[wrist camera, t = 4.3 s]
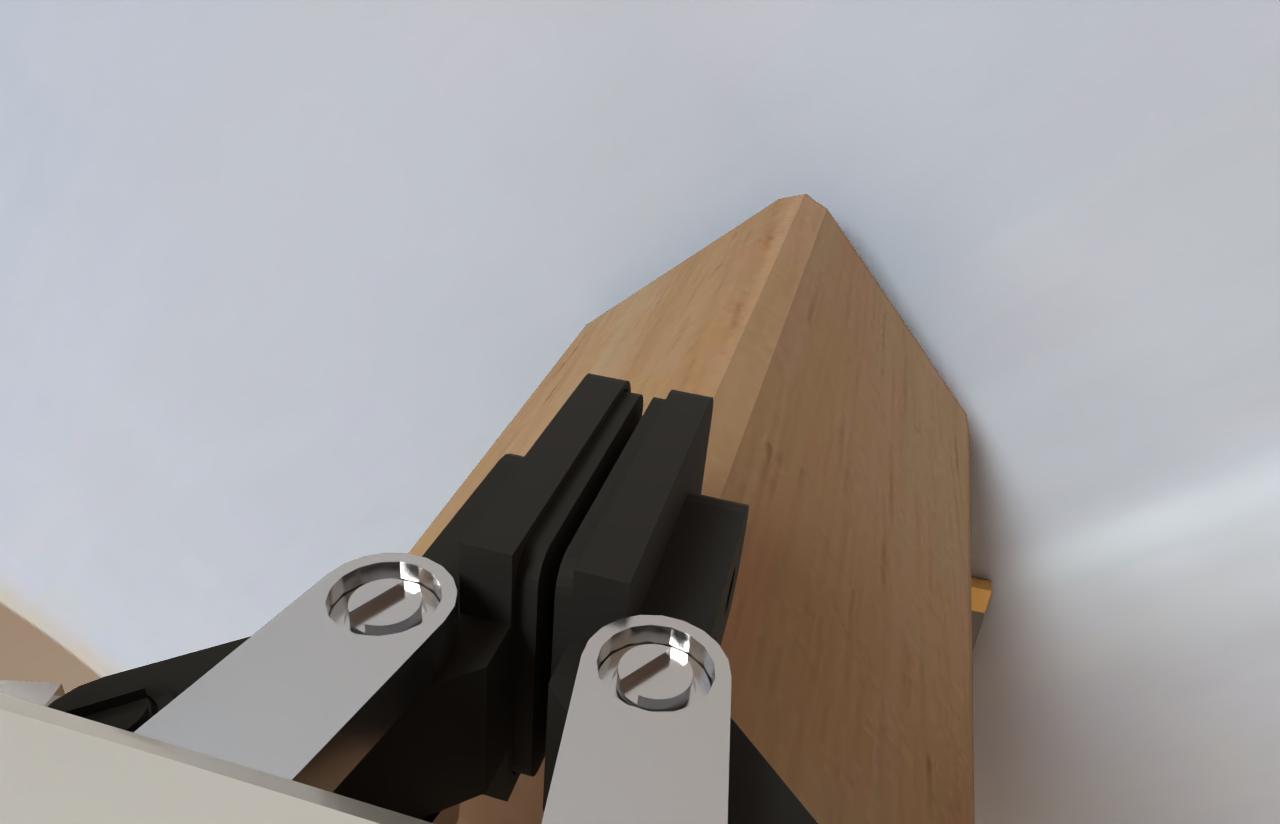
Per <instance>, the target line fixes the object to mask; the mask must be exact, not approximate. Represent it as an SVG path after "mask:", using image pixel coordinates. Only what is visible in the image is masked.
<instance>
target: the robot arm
mask: <svg viewBox="0 0 1280 824" xmlns="http://www.w3.org/2000/svg"><path fill="white" fill-rule="evenodd" d="M712 412H713V397H708V396H703V395H698V394H692V393H687V392H682V391H677V390H671V391H670V392H669V394H668V396H667V398H666V399H662V398H657V397H653V399H652V400H651V402H650V404H649V405H648V407H647V409H646V411H645V412H644V414H643V395H641V394H636V393H631V385H630V382H629V381H626V380H621V379H615V378H610V377H605V376H600V375H595V374H590V373H588V374H587V375H586V376H585V377H584V378H583V380H582V381H581V382H580V384H579V385H578V386H577V388H576V389H575V390H574V392H573V393H572V394H571V395H570V397H569V398H568V399H567V401H566V402H565V403H564V405H563V406H562V407H561V409H560V410H559V411H558V413H557V414H556V415H555V417H554V418H553V419H552V421H551V422H550V423H549V425H548V426H547V427H546V429H545V430H544V431H543V432H542V434H541V435H540V436H539V438H538V439H537V440H536V442H535V443H534V444H533V446H532V447H531V448H530V450H529V451H528V452H527V454H526V455H525V456H520V455H515V454H505V455H504V456H503V457H502V458H501V459H500V460H499V461H498V462H497V463H496V465H495V466H494V467H493V468H492V470H491V471H490V472H489V473H488V475H487V476H486V477H485V478H484V480H483V481H482V482H481V483H480V485H479V486H478V487H477V488H476V490H475V491H474V492H473V493H472V495H471V496H470V497H469V498H468V500H467V501H466V502H465V503H464V505H463V506H462V507H461V508H460V510H459V511H458V512H457V513H456V514H455V516H454V517H453V518H452V519H451V521H450V522H449V523H448V524H447V526H446V527H445V528H444V529H443V531H442V532H441V533H440V534H439V536H438V537H437V538H436V539H435V541H434V542H433V543H432V544H431V546H430V547H429V548H428V549H427V551H426V552H425V553H424V554H423V556H422V557H421V556H417V555H412V554H408V553H382V554H376V555H370V556H364V557H361V558H359V559H356V560H353V561H350V562H347V563H345V564H343V565H341V566H340V567H338V568H337V569H335V570H333V571H332V572H330V573H329V574H327V575H326V576H325V577H323V578H322V579H321V580H320V581H319V582H317V583H316V584H315V585H314V586H312V587H311V588H310V589H309V590H307V591H306V592H305V593H304V594H303V595H301V596H300V597H299V598H298V599H296V600H295V601H294V602H293V603H292V604H290V605H289V606H288V607H287V608H285V609H284V610H283V611H282V612H281V613H279V614H278V615H277V616H276V617H274V618H273V619H272V620H271V621H269V622H268V623H267V624H266V625H265V626H263V627H262V628H261V629H260V630H258V631H257V632H256V633H255V634H254V635H252V636H251V637H247V638H244V639H240V640H236V641H233V642H229V643H225V644H222V645H218V646H215V647H211V648H207V649H204V650H200V651H196V652H193V653H189V654H186V655H182V656H178V657H175V658H171V659H168V660H164V661H160V662H157V663H153V664H149V665H146V666H142V667H139V668H135V669H131V670H128V671H124V672H120V673H117V674H113V675H110V676H106V677H103V678H100V679H98V680H95V681H92V682H90V683H87V684H84V685H81V686H79V687H77V688H75V689H73V690H72V691H70V692H68V693H67V694H65V693H64V690H63V687H62V684H56V683H42V682H28V681H14V680H1V679H0V824H456V823H457V821H458V819H459V813H460V805H461V803H462V802H464V801H467V800H469V799H472V798H474V797H477V796H479V795H482V794H483V795H486V796H489V797H493V798H496V799H500V800H503V801H506V802H508V799H509V797H510V795H511V793H512V791H513V789H514V787H515V785H516V782H517V780H518V778H519V776H520V774H525V775H528V776H532V777H533V776H535V775H536V774H537V772H538V770H539V768H540V766H541V764H542V762H543V760H544V757H545V769H544V790H543V811H544V815H543V819H542V824H818V823H817V822H816V820H815V819H814V818H813V817H812V816H811V814H810V813H809V812H808V811H807V810H806V808H805V807H804V806H803V805H802V803H801V802H800V801H799V800H798V799H797V797H796V796H795V795H794V794H793V792H792V791H791V790H790V789H789V788H788V786H787V785H786V784H785V783H784V781H783V780H782V779H781V778H780V777H779V775H778V774H777V773H776V772H775V770H774V769H773V768H772V767H771V766H770V764H769V763H768V762H767V761H766V759H765V758H764V757H763V756H762V755H761V753H760V752H759V751H758V750H757V748H756V747H755V746H754V745H753V744H752V742H751V741H750V740H749V739H748V738H747V736H746V735H745V734H744V733H743V731H742V730H741V729H740V728H739V727H738V725H737V724H736V723H735V722H734V720H733V719H732V718H731V717H730V714H731V671H730V666H729V660H728V658H727V657H726V655H725V653H724V652H723V650H722V649H721V643H722V639H723V635H724V632H725V628H726V624H727V620H728V616H729V612H730V608H731V604H732V599H733V595H734V590H735V586H736V581H737V576H738V571H739V566H740V560H741V555H742V549H743V543H744V538H745V532H746V526H747V520H748V512H749V505H747V504H742V503H737V502H733V501H728V500H724V499H719V498H714V497H710V496H705V495H701V491H702V484H703V477H704V470H705V463H706V456H707V448H708V441H709V434H710V427H711V420H712ZM642 414H643V416H642Z"/></svg>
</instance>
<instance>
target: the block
mask: <svg viewBox="0 0 1280 824" xmlns="http://www.w3.org/2000/svg"><path fill="white" fill-rule="evenodd" d="M588 373H590V374H595V375H600V376H605V377H610V378H615V379H621V380H626V381H629V382H630V385H631V393H636V394H641V395H643V414H644V412H645V411H646V409H647V407H648V405H649V404H650V402H651V400H652V399H653V397H657V398H662V399H666V398H667V396H668V394H669V392H670V391H671V390H677V391H682V392H687V393H692V394H698V395H703V396H708V397H713V412H712V420H711V427H710V434H709V441H708V448H707V456H706V463H705V470H704V477H703V484H702V491H701V495H705V496H710V497H714V498H719V499H724V500H728V501H733V502H737V503H742V504H747V505H749V512H748V520H747V526H746V532H745V538H744V543H743V549H742V555H741V560H740V566H739V571H738V576H737V581H736V586H735V590H734V595H733V599H732V604H731V608H730V612H729V616H728V620H727V624H726V628H725V632H724V635H723V639H722V643H721V649H722V650H723V652H724V653H725V655H726V657H727V658H728V660H729V666H730V671H731V714H730V717H731V718H732V719H733V720H734V722H735V723H736V724H737V725H738V727H739V728H740V729H741V730H742V731H743V733H744V734H745V735H746V736H747V738H748V739H749V740H750V741H751V742H752V744H753V745H754V746H755V747H756V748H757V750H758V751H759V752H760V753H761V755H762V756H763V757H764V758H765V759H766V761H767V762H768V763H769V764H770V766H771V767H772V768H773V769H774V770H775V772H776V773H777V774H778V775H779V777H780V778H781V779H782V780H783V781H784V783H785V784H786V785H787V786H788V788H789V789H790V790H791V791H792V792H793V794H794V795H795V796H796V797H797V799H798V800H799V801H800V802H801V803H802V805H803V806H804V807H805V808H806V810H807V811H808V812H809V813H810V814H811V816H812V817H813V818H814V819H815V820H816V822H817V823H818V824H974V763H973V683H972V602H971V522H970V442H969V429H968V421H967V415H966V413H965V412H964V410H963V409H962V407H961V406H960V404H959V403H958V401H957V400H956V398H955V397H954V396H953V394H952V393H951V391H950V390H949V388H948V387H947V385H946V384H945V382H944V381H943V379H942V378H941V376H940V375H939V373H938V372H937V370H936V369H935V367H934V366H933V365H932V363H931V362H930V360H929V359H928V357H927V356H926V354H925V353H924V351H923V350H922V348H921V347H920V345H919V344H918V342H917V341H916V339H915V338H914V336H913V335H912V334H911V332H910V331H909V329H908V328H907V326H906V325H905V323H904V322H903V320H902V319H901V317H900V316H899V314H898V313H897V311H896V310H895V308H894V307H893V305H892V304H891V303H890V301H889V300H888V298H887V297H886V295H885V294H884V292H883V291H882V289H881V288H880V286H879V285H878V283H877V282H876V280H875V279H874V277H873V276H872V274H871V273H870V272H869V270H868V269H867V267H866V266H865V264H864V263H863V261H862V260H861V258H860V257H859V255H858V254H857V252H856V251H855V249H854V248H853V246H852V245H851V243H850V242H849V240H848V239H847V238H846V236H845V235H844V233H843V232H842V230H841V229H840V227H839V226H838V224H837V223H836V221H835V220H834V218H833V217H832V215H831V214H830V212H829V211H828V209H827V208H825V207H824V206H822V205H821V204H819V203H818V202H816V201H815V200H813V199H812V198H811V197H810V196H808V195H807V194H804V195H798V196H793V197H788V198H783V199H779V200H777V201H776V202H774V203H773V204H771V205H769V206H768V207H766V208H765V209H763V210H762V211H760V212H759V213H757V214H756V215H754V216H753V217H751V218H750V219H748V220H747V221H745V222H743V223H742V224H740V225H739V226H737V227H736V228H734V229H733V230H731V231H730V232H728V233H727V234H725V235H724V236H722V237H720V238H719V239H717V240H716V241H714V242H713V243H711V244H710V245H708V246H707V247H705V248H704V249H702V250H701V251H699V252H698V253H696V254H694V255H693V256H691V257H690V258H688V259H687V260H685V261H684V262H682V263H681V264H679V265H678V266H676V267H675V268H673V269H671V270H670V271H668V272H667V273H665V274H664V275H662V276H661V277H659V278H658V279H656V280H655V281H653V282H652V283H650V284H648V285H647V286H645V287H644V288H642V289H641V290H639V291H638V292H636V293H635V294H633V295H632V296H630V297H629V298H627V299H626V300H624V301H622V302H621V303H619V304H618V305H616V306H615V307H613V308H612V309H610V310H609V311H607V312H606V313H604V314H603V315H601V316H599V317H598V318H596V319H595V320H593V321H592V322H590V323H589V324H587V325H586V326H585V327H584V329H583V330H582V331H581V333H580V334H579V335H578V336H577V338H576V339H575V340H574V342H573V343H572V344H571V345H570V347H569V348H568V349H567V351H566V352H565V353H564V354H563V356H562V357H561V358H560V360H559V361H558V362H557V363H556V365H555V366H554V367H553V369H552V370H551V371H550V372H549V374H548V375H547V376H546V377H545V379H544V380H543V381H542V383H541V384H540V385H539V386H538V388H537V389H536V390H535V392H534V393H533V394H532V395H531V397H530V398H529V399H528V401H527V402H526V403H525V404H524V406H523V407H522V408H521V410H520V411H519V412H518V413H517V415H516V416H515V417H514V419H513V420H512V421H511V422H510V424H509V425H508V426H507V428H506V429H505V430H504V431H503V433H502V434H501V435H500V437H499V438H498V439H497V440H496V442H495V443H494V444H493V446H492V447H491V448H490V449H489V451H488V452H487V453H486V454H485V456H484V457H483V458H482V460H481V461H480V462H479V463H478V465H477V466H476V467H475V469H474V470H473V471H472V472H471V474H470V475H469V476H468V478H467V479H466V480H465V481H464V483H463V484H462V485H461V487H460V488H459V489H458V490H457V492H456V493H455V494H454V496H453V497H452V498H451V499H450V501H449V502H448V503H447V505H446V506H445V507H444V508H443V510H442V511H441V512H440V514H439V515H438V516H437V517H436V519H435V520H434V521H433V522H432V524H431V525H430V526H429V528H428V529H427V530H426V531H425V533H424V534H423V535H422V537H421V538H420V539H419V540H418V542H417V543H416V544H415V546H414V547H413V548H412V549H411V551H410V552H409V553H408V554H412V555H417V556H421V557H422V556H423V554H424V553H425V552H426V551H427V549H428V548H429V547H430V546H431V544H432V543H433V542H434V541H435V539H436V538H437V537H438V536H439V534H440V533H441V532H442V531H443V529H444V528H445V527H446V526H447V524H448V523H449V522H450V521H451V519H452V518H453V517H454V516H455V514H456V513H457V512H458V511H459V510H460V508H461V507H462V506H463V505H464V503H465V502H466V501H467V500H468V498H469V497H470V496H471V495H472V493H473V492H474V491H475V490H476V488H477V487H478V486H479V485H480V483H481V482H482V481H483V480H484V478H485V477H486V476H487V475H488V473H489V472H490V471H491V470H492V468H493V467H494V466H495V465H496V463H497V462H498V461H499V460H500V459H501V458H502V457H503V456H504V455H505V454H515V455H520V456H525V455H526V454H527V452H528V451H529V450H530V448H531V447H532V446H533V444H534V443H535V442H536V440H537V439H538V438H539V436H540V435H541V434H542V432H543V431H544V430H545V429H546V427H547V426H548V425H549V423H550V422H551V421H552V419H553V418H554V417H555V415H556V414H557V413H558V411H559V410H560V409H561V407H562V406H563V405H564V403H565V402H566V401H567V399H568V398H569V397H570V395H571V394H572V393H573V392H574V390H575V389H576V388H577V386H578V385H579V384H580V382H581V381H582V380H583V378H584V377H585V376H586V375H587V374H588ZM643 414H642V416H643ZM544 769H545V757H544V760H543V762H542V764H541V766H540V768H539V770H538V772H537V774H536V775H535V776H533V777H532V776H528V775H525V774H520V776H519V778H518V780H517V782H516V785H515V787H514V789H513V791H512V793H511V795H510V797H509V799H508V802H506V801H503V800H500V799H496V798H493V797H489V796H486V795H483V794H482V795H479V796H477V797H474V798H472V799H469V800H467V801H464V802H462V803H461V805H460V813H459V819H458V821H457V823H456V824H542V819H543V815H544V811H543V790H544Z"/></svg>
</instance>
